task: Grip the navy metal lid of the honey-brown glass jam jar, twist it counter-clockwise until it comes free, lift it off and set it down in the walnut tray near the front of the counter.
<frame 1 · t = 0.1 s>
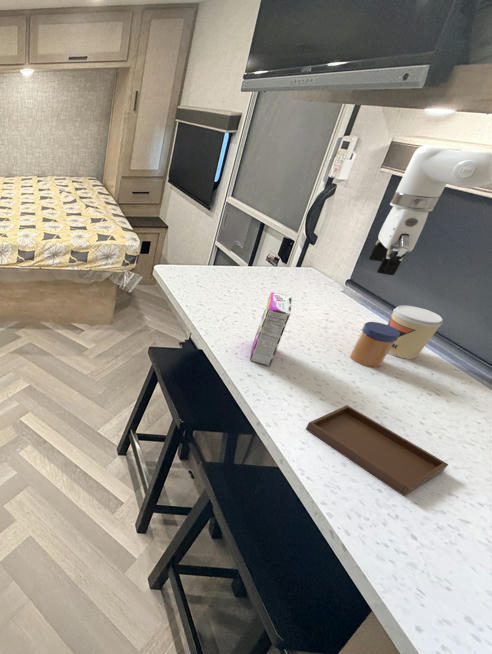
hand: (380, 266, 102), 24 cm above the worktop, tool pointing down, fingers open, 9 cm apart
coffee cup: (397, 351, 110), on the worktop
jam jar: (365, 359, 106), on the worktop
candy bar box: (260, 354, 109), on the worktop
walnut tray: (370, 449, 81), on the worktop
jar lid: (381, 330, 102), point 10 cm above the worktop, screwed on, not yet turned
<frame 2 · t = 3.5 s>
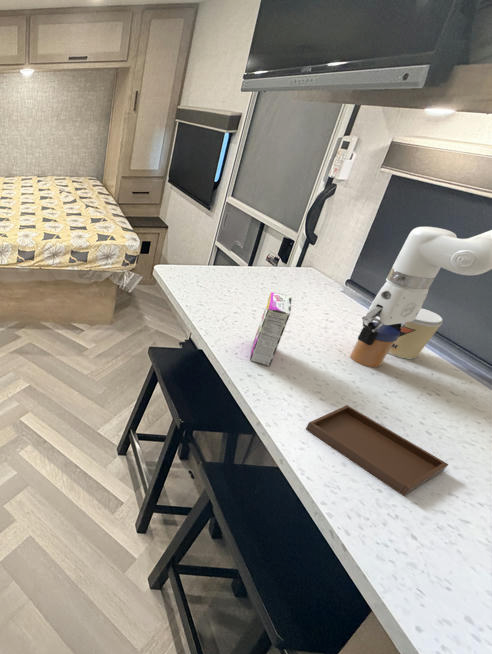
hand: (376, 339, 103), 7 cm above the worktop, tool pointing down, fingers closed on jar lid, 6 cm apart
jar lid: (381, 330, 102), point 10 cm above the worktop, screwed on, not yet turned, touching gripper
everything else where it was.
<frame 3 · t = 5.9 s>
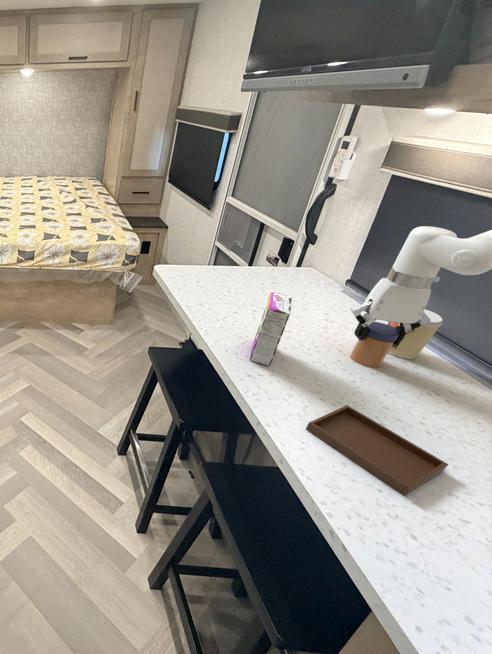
hand: (375, 339, 103), 7 cm above the worktop, tool pointing down, fingers closed on jar lid, 6 cm apart
jar lid: (381, 329, 102), point 10 cm above the worktop, off its thread, touching gripper
everything else where it was.
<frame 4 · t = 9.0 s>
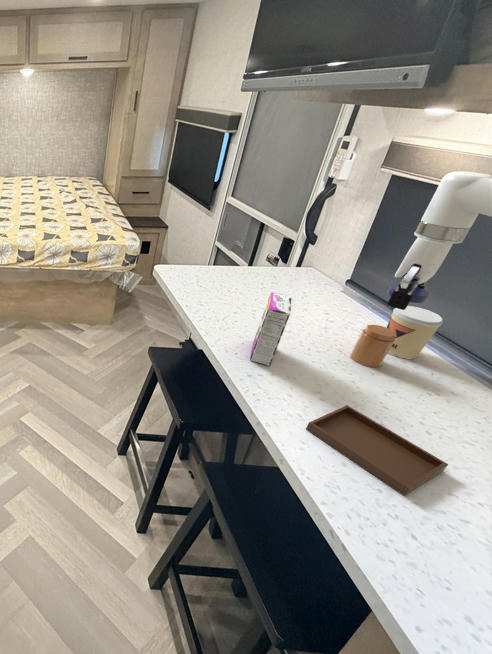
hand: (401, 302, 94), 20 cm above the worktop, tool pointing down, fingers closed on jar lid, 6 cm apart
jar lid: (408, 290, 93), point 23 cm above the worktop, off its thread, touching gripper
everything else where it was.
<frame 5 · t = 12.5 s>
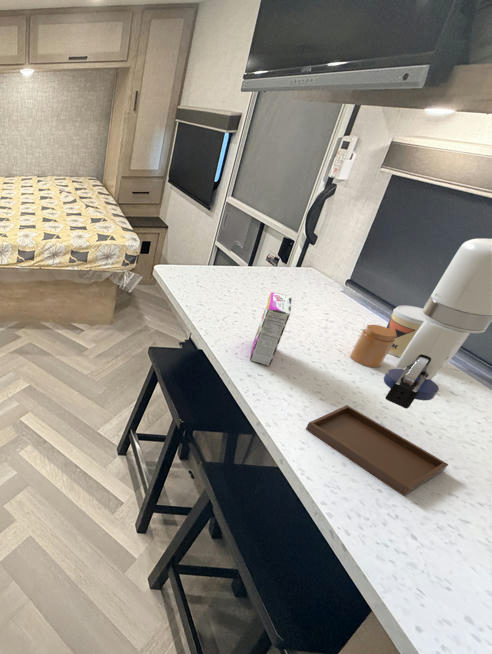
hand: (403, 395, 74), 14 cm above the worktop, tool pointing down, fingers closed on jar lid, 6 cm apart
jar lid: (411, 381, 72), point 18 cm above the worktop, off its thread, touching gripper
everything else where it was.
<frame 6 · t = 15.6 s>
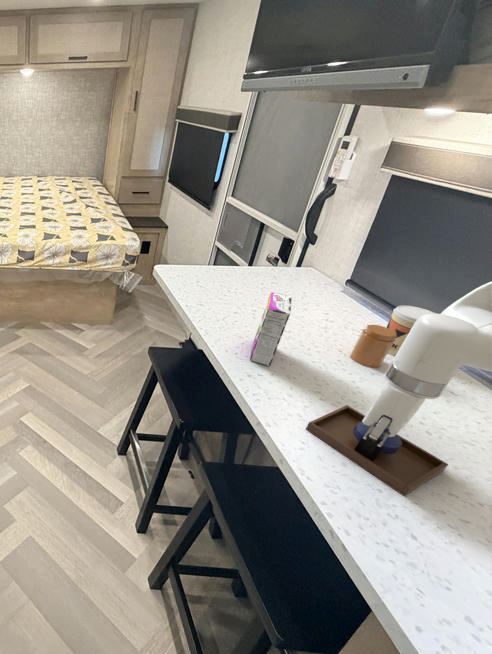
hand: (371, 446, 80), 1 cm above the worktop, tool pointing down, fingers closed on jar lid, 6 cm apart
jar lid: (378, 435, 79), point 4 cm above the worktop, off its thread, touching gripper
everything else where it was.
when the fingers open (1 cm above the worktop, at t = 21.4 s): jar lid drops 2 cm, resting on walnut tray.
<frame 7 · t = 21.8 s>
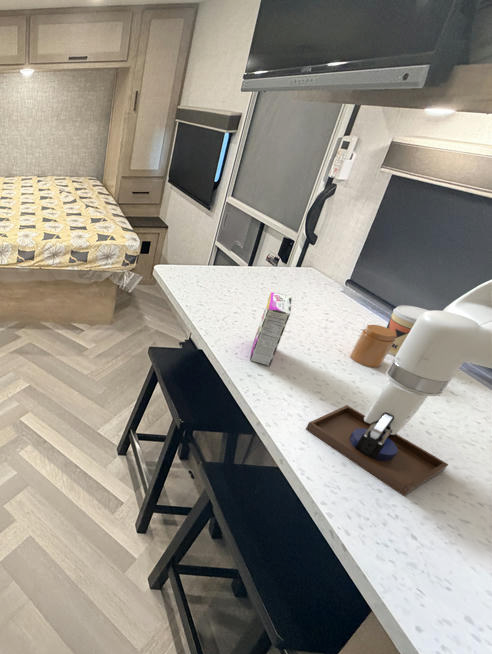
hand: (374, 442, 80), 2 cm above the worktop, tool pointing down, fingers open, 9 cm apart
jar lid: (374, 442, 80), point 2 cm above the worktop, off its thread, touching walnut tray
everything else where it was.
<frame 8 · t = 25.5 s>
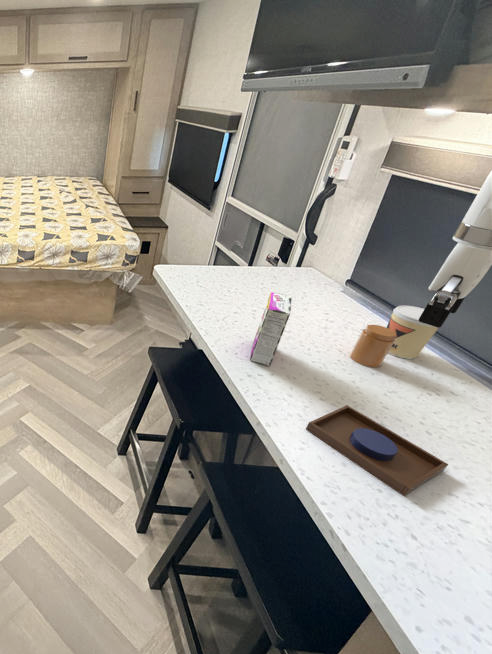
hand: (436, 316, 79), 24 cm above the worktop, tool pointing down, fingers open, 9 cm apart
nothing on the worktop moved.
at the end: jar lid came off its thread; jar lid inside the target area in the walnut tray (0.0 cm from its centre), point 1.9 cm above the walnut tray's base; the gripper is holding nothing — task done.
